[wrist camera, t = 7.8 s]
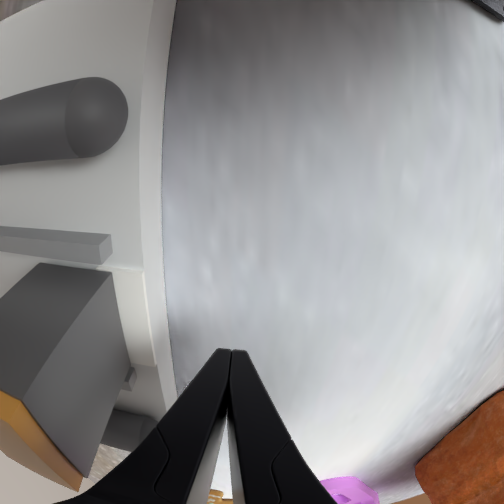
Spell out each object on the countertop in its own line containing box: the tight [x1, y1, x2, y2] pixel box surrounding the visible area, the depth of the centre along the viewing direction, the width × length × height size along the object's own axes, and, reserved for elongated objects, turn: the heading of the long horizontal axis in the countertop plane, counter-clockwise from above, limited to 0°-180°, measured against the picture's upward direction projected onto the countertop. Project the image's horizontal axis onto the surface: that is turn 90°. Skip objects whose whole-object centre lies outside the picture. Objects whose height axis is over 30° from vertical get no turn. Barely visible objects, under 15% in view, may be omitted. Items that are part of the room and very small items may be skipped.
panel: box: [0, 0, 178, 452], centre depth 9 cm, size 14×22×4 cm, turn 175°
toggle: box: [0, 262, 131, 492], centre depth 6 cm, size 3×4×6 cm
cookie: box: [207, 489, 233, 504], centre depth 23 cm, size 8×1×10 cm
